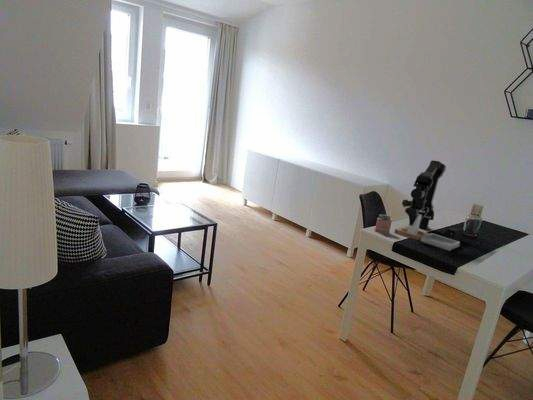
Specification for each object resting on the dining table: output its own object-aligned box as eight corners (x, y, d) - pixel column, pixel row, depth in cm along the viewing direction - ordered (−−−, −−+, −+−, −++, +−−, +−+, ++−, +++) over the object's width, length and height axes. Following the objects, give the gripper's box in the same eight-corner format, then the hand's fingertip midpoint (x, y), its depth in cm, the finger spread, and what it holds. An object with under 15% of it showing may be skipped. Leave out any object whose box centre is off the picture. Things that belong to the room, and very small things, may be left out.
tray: (431, 237, 208) (432, 233, 208) (458, 246, 198) (460, 242, 198) (420, 241, 198) (421, 236, 197) (449, 251, 188) (450, 246, 187)
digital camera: (451, 237, 214) (454, 226, 213) (461, 241, 210) (464, 229, 209) (442, 239, 208) (445, 227, 206) (452, 243, 204) (455, 231, 202)
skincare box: (409, 232, 212) (414, 212, 210) (417, 235, 210) (422, 214, 207) (405, 234, 208) (410, 213, 205) (413, 237, 205) (418, 216, 202)
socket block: (405, 229, 218) (406, 226, 218) (428, 237, 209) (429, 233, 208) (394, 232, 208) (395, 229, 208) (418, 240, 199) (419, 237, 198)
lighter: (388, 232, 207) (392, 215, 205) (389, 234, 204) (393, 216, 202) (374, 230, 208) (377, 213, 206) (375, 231, 205) (378, 214, 202)
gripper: (413, 193, 216) (407, 218, 219) (398, 195, 202) (392, 222, 206) (432, 197, 208) (426, 224, 212) (418, 200, 195) (412, 228, 198)
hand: (414, 224), depth 207 cm, fingers open, 8 cm apart
